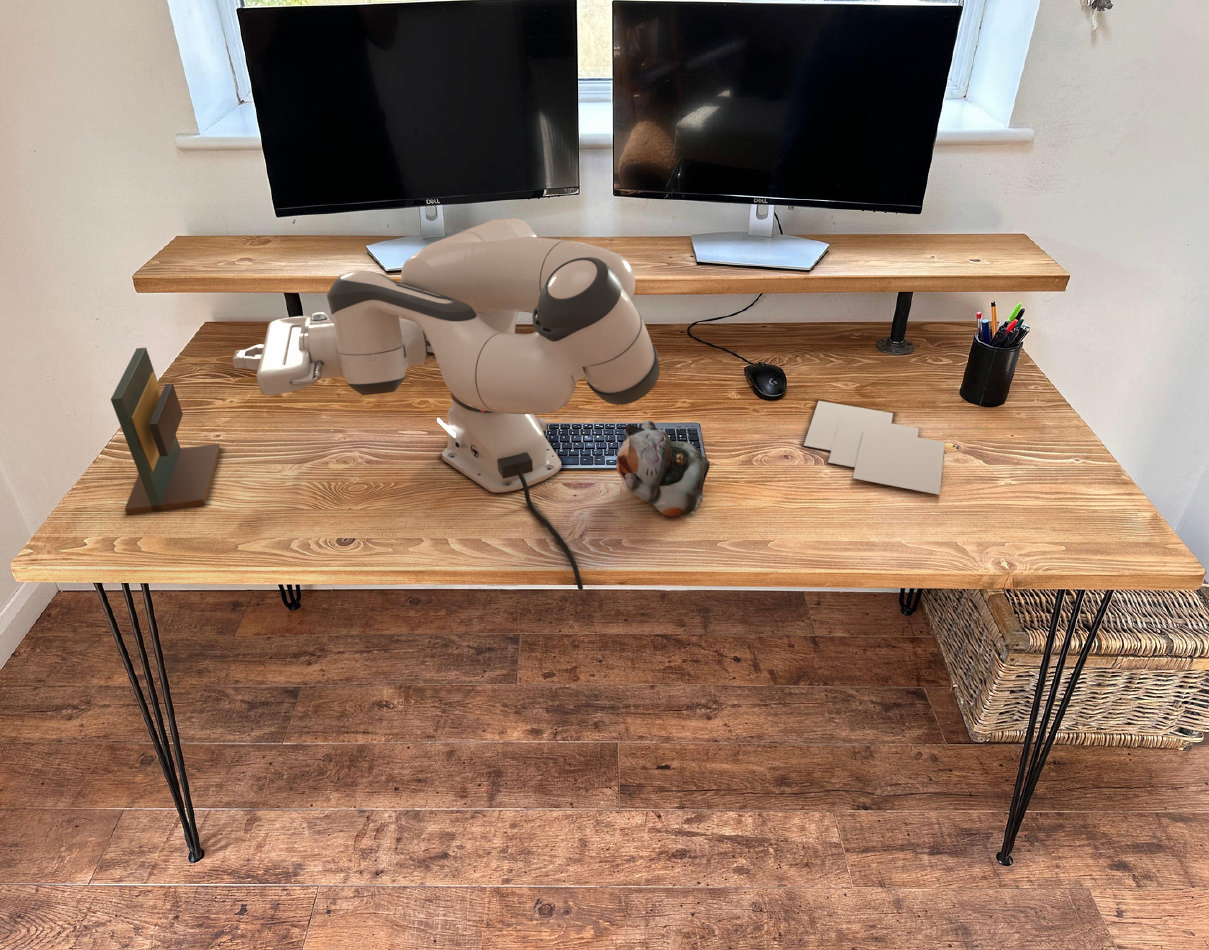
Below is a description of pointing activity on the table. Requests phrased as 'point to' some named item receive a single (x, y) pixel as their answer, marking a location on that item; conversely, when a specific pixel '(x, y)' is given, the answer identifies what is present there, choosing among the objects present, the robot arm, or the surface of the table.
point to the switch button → (166, 420)
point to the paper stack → (877, 447)
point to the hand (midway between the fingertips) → (234, 359)
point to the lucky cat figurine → (662, 470)
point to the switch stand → (160, 477)
